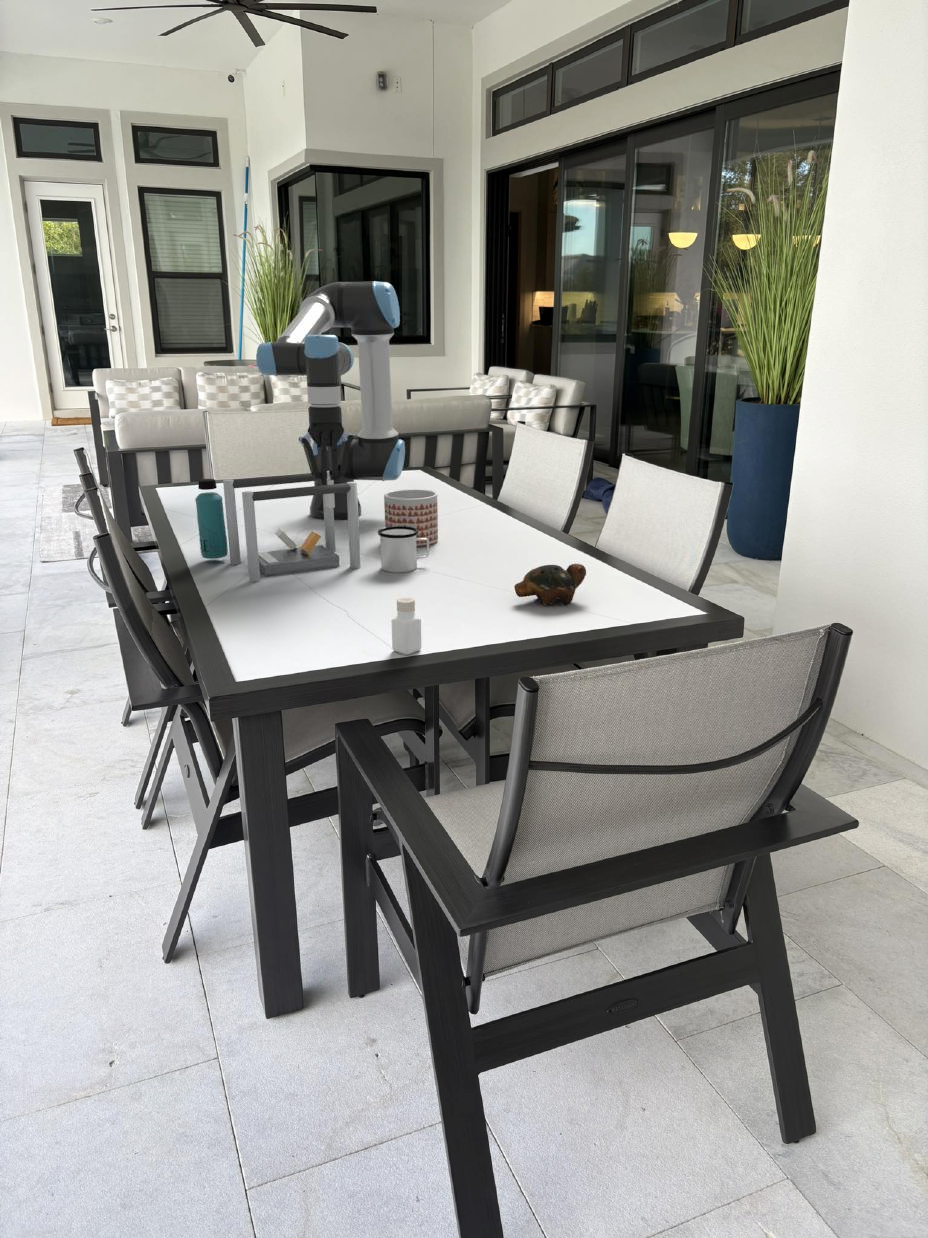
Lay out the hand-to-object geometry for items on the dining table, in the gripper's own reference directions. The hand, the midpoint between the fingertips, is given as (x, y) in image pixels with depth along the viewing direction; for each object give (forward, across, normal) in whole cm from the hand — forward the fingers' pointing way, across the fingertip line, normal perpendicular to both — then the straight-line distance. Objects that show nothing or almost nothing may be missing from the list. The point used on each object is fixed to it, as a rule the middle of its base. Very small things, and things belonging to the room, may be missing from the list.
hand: (329, 506), depth 212 cm
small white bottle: (+14, +9, +64) cm, 66 cm away
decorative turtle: (+14, -29, +52) cm, 61 cm away
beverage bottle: (+13, +25, -13) cm, 31 cm away
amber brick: (+11, +7, 0) cm, 13 cm away
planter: (+13, -25, -8) cm, 29 cm away
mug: (+13, -13, +14) cm, 23 cm away
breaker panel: (+13, +9, 0) cm, 16 cm away
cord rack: (+13, +9, 0) cm, 16 cm away
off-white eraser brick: (+11, +7, -6) cm, 14 cm away
